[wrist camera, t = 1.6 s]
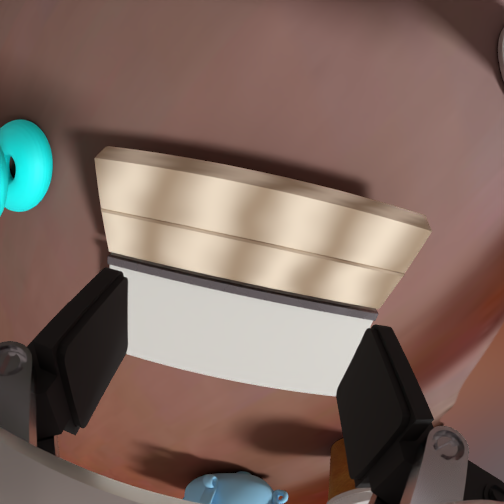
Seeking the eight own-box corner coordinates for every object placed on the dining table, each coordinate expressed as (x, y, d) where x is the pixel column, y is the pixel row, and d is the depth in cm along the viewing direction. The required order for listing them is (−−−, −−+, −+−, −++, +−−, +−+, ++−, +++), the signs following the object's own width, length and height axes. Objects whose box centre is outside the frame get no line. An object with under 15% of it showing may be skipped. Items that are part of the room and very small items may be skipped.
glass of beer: (388, 425, 39) (406, 492, 28) (371, 458, 42) (383, 518, 31) (325, 430, 39) (333, 502, 28) (315, 462, 43) (319, 526, 32)
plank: (425, 215, 23) (432, 232, 22) (376, 292, 30) (379, 309, 29) (106, 145, 23) (93, 158, 21) (117, 237, 30) (108, 252, 28)
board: (371, 300, 31) (378, 313, 29) (333, 384, 36) (336, 399, 33) (118, 246, 31) (107, 256, 28) (118, 339, 35) (110, 352, 33)
